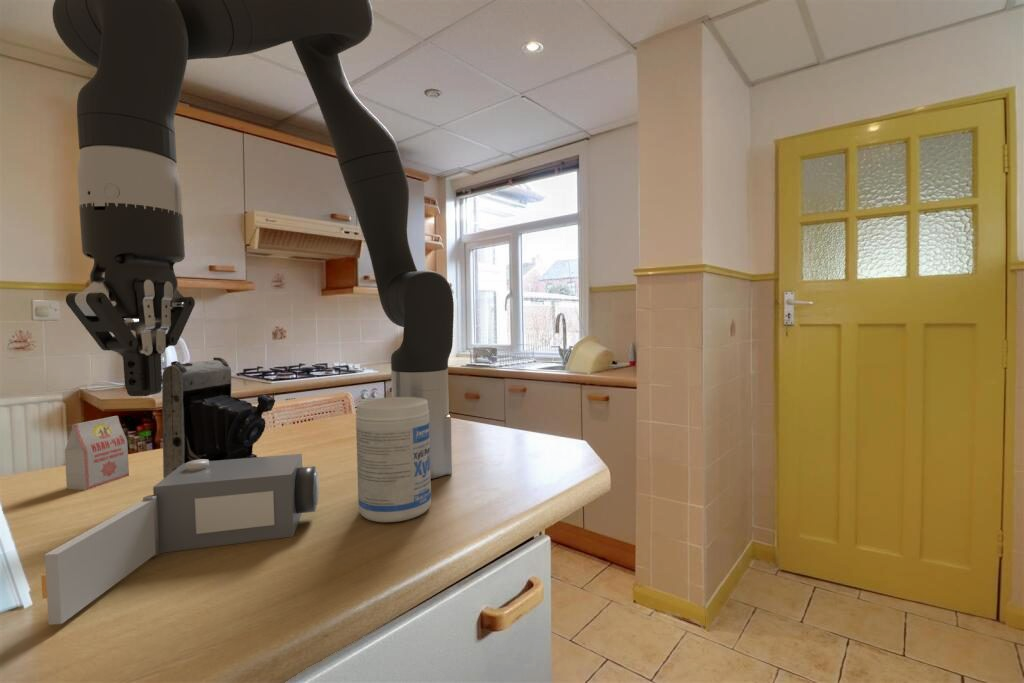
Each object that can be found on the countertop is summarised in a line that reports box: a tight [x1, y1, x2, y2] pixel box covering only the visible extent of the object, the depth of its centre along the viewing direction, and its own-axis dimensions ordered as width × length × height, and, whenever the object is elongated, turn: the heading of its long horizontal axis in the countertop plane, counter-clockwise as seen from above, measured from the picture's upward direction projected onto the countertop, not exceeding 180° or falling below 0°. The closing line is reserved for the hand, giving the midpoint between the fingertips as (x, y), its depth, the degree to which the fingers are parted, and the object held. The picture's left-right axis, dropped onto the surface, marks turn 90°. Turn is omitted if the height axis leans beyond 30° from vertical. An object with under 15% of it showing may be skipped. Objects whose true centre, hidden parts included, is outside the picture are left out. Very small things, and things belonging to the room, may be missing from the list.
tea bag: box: [64, 415, 130, 491], centre depth 77 cm, size 4×7×10 cm, turn 169°
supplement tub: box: [355, 396, 432, 523], centre depth 65 cm, size 10×10×15 cm
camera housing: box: [152, 453, 320, 554], centre depth 60 cm, size 16×9×8 cm, turn 106°
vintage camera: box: [161, 357, 276, 479], centre depth 73 cm, size 10×16×20 cm, turn 78°
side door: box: [40, 494, 161, 625], centre depth 47 cm, size 13×2×6 cm, turn 4°
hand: (144, 394), depth 46 cm, fingers closed
